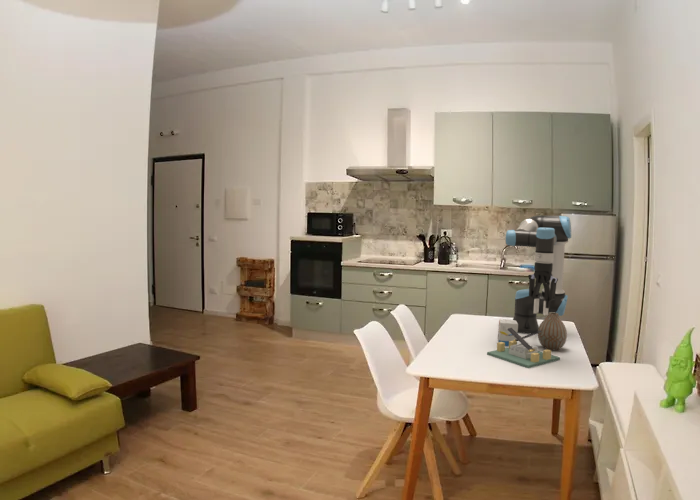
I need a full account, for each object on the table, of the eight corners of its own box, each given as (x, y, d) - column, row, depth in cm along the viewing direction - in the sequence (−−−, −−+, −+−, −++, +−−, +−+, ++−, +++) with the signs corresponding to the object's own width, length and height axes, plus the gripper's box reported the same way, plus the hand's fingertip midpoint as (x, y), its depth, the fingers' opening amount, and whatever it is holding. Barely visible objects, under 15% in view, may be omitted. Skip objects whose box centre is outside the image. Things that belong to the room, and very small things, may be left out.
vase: (537, 350, 232) (539, 314, 230) (536, 343, 244) (538, 309, 242) (567, 353, 227) (569, 317, 226) (565, 346, 239) (567, 311, 238)
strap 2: (517, 341, 228) (517, 339, 229) (542, 332, 217) (541, 330, 218) (513, 342, 227) (512, 340, 227) (538, 333, 216) (537, 330, 216)
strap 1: (511, 329, 222) (512, 327, 221) (534, 351, 212) (535, 349, 212) (506, 329, 220) (507, 328, 219) (529, 352, 210) (530, 350, 210)
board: (518, 347, 235) (518, 337, 235) (559, 359, 217) (560, 349, 217) (487, 354, 222) (487, 344, 222) (528, 368, 204) (529, 356, 204)
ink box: (517, 347, 236) (518, 323, 235) (499, 345, 238) (500, 322, 237) (514, 342, 245) (516, 319, 244) (497, 341, 246) (498, 318, 245)
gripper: (521, 260, 219) (519, 311, 221) (556, 264, 205) (553, 318, 207) (532, 260, 223) (529, 309, 225) (566, 264, 209) (563, 316, 211)
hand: (540, 313), depth 216 cm, fingers open, 4 cm apart
